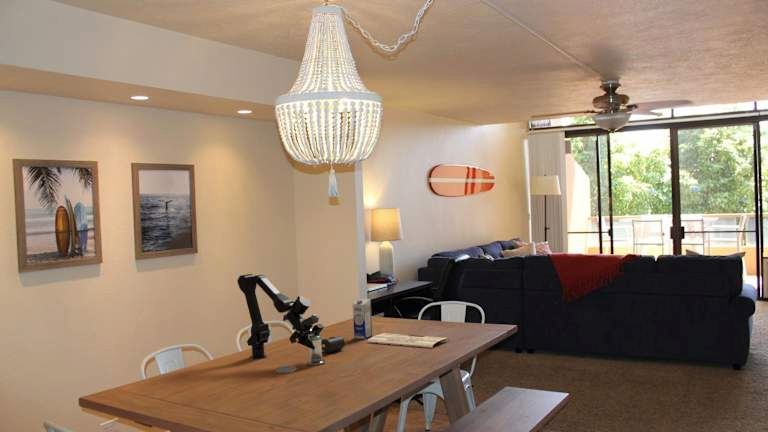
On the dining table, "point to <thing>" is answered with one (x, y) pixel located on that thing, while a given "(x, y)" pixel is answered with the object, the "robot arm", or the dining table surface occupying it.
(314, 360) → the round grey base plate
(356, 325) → the milk carton
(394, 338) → the newspaper
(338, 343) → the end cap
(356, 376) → the dining table surface
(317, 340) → the drinking glass
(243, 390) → the dining table surface
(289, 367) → the coaster
